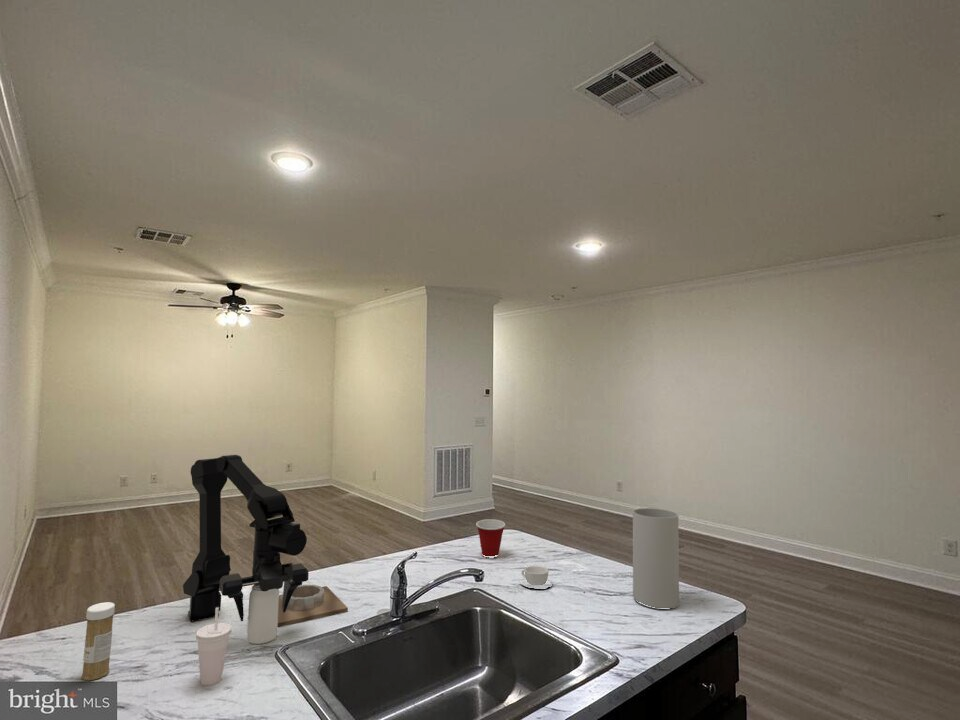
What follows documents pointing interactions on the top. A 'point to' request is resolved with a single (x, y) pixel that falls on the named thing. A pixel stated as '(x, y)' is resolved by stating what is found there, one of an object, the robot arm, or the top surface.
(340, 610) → the base plate
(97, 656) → the sprinkles bottle
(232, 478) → the robot arm
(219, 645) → the smoothie
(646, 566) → the cylinder vase
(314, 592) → the ring collar
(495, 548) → the plastic cup
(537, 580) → the teacup
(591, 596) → the top surface
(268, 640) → the can
